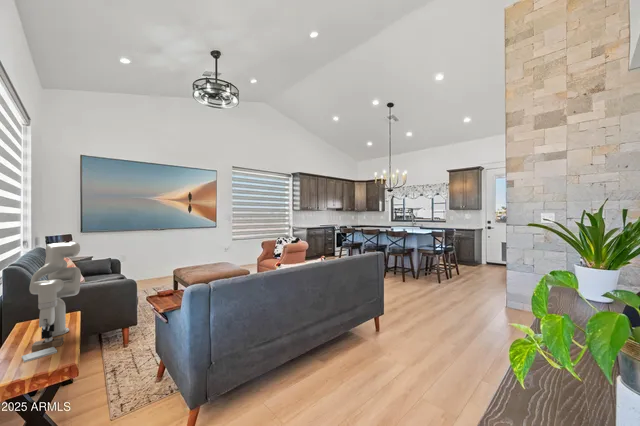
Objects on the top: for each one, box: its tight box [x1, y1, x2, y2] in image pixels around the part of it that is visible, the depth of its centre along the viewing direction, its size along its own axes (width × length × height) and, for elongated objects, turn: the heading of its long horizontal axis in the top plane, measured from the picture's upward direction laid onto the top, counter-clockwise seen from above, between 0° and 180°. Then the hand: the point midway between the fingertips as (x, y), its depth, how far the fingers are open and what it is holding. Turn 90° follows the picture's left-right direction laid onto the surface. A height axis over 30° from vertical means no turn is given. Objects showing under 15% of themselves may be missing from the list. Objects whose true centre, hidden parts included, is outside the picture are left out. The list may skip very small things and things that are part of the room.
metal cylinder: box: [44, 331, 53, 343], centre depth 161 cm, size 3×3×8 cm
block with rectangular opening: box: [31, 336, 65, 352], centre depth 160 cm, size 6×12×3 cm, turn 122°
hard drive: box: [21, 347, 58, 363], centre depth 150 cm, size 2×8×12 cm
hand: (48, 334), depth 160 cm, fingers open, 9 cm apart
